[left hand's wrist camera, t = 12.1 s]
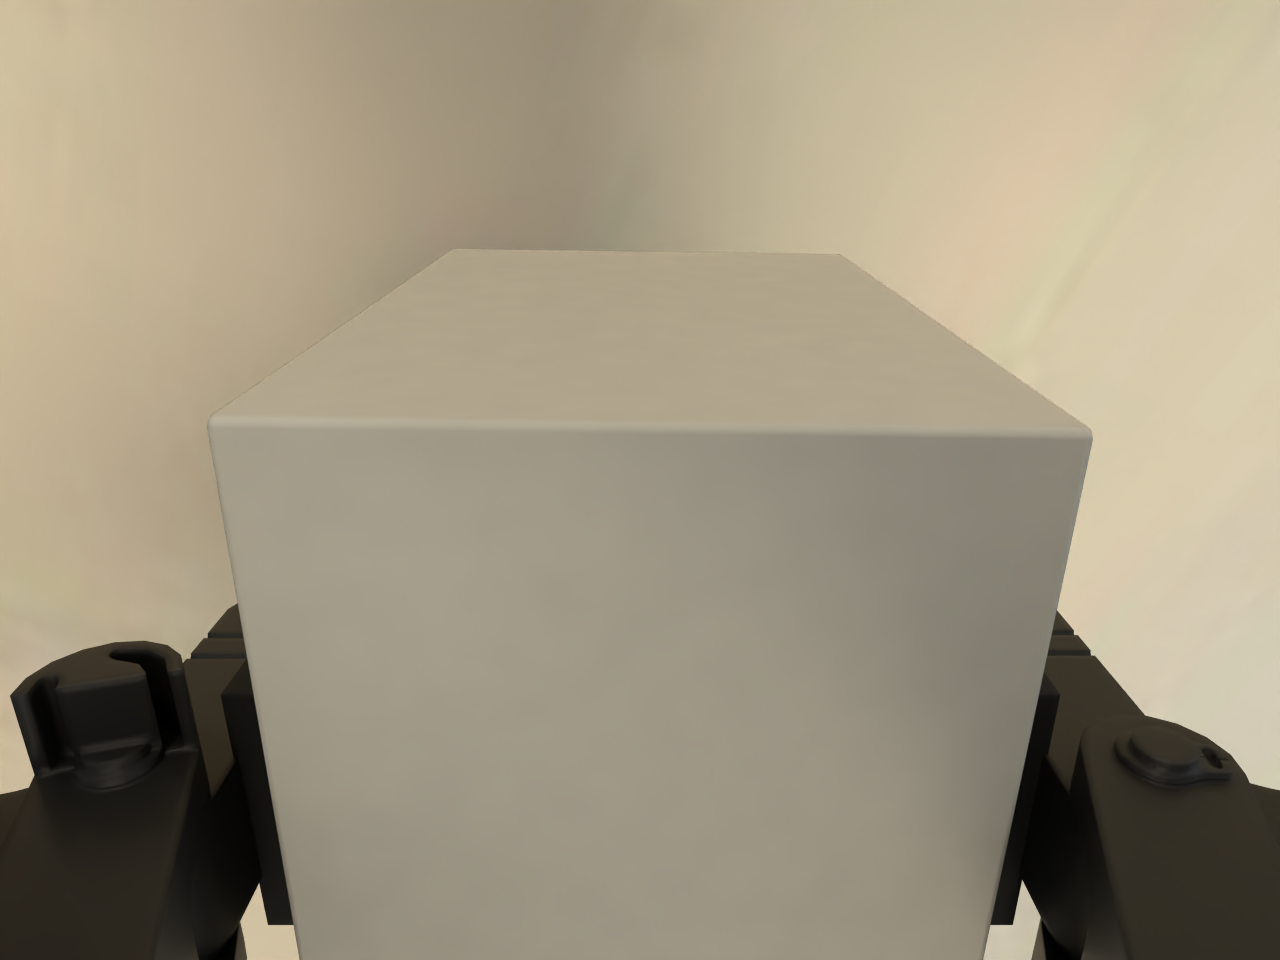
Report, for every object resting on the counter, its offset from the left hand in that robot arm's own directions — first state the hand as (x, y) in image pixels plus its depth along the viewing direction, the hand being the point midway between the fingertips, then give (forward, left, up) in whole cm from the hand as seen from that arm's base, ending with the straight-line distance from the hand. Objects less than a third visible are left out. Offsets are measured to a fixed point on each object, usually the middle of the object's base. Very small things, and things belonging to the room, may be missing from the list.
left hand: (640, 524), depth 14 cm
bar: (+31, -6, -1) cm, 31 cm away
